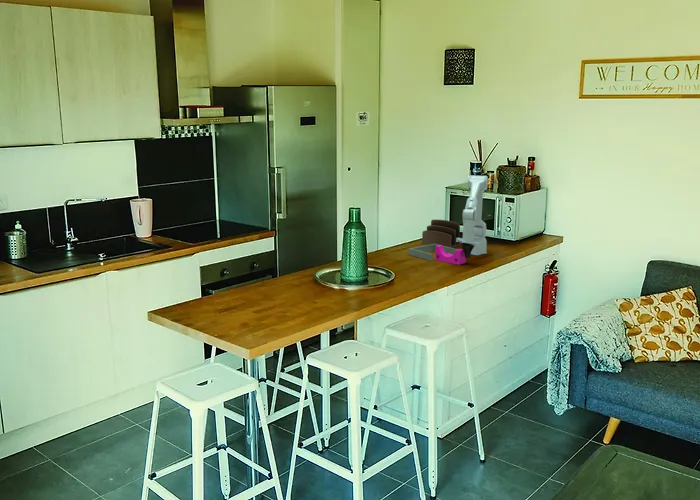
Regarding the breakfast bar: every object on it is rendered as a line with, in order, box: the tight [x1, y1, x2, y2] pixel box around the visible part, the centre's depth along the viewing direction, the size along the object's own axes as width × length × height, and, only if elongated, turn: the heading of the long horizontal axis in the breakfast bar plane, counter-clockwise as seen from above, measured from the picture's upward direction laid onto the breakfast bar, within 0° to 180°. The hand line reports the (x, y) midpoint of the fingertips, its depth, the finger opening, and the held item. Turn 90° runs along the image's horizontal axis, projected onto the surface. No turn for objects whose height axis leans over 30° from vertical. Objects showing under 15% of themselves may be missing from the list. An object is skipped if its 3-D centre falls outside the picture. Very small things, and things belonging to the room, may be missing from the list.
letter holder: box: [421, 219, 461, 249], centre depth 396 cm, size 10×20×14 cm, turn 50°
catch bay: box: [408, 244, 458, 262], centre depth 371 cm, size 20×17×4 cm
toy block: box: [434, 245, 467, 266], centre depth 358 cm, size 15×6×8 cm, turn 48°
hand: (467, 257), depth 352 cm, fingers closed
